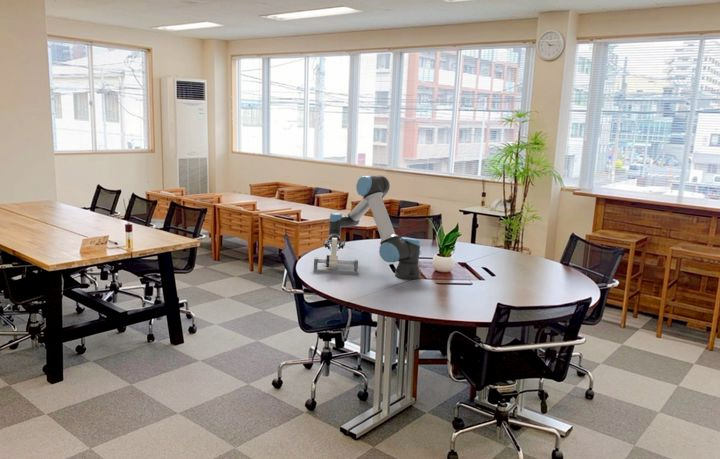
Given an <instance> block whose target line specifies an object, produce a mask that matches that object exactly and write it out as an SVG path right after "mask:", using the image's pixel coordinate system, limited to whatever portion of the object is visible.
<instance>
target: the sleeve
mask: <svg viewBox="0 0 720 459" xmlns="http://www.w3.org/2000/svg"><path fill="white" fill-rule="evenodd" d="M337 252H338V251H337V238H332V247H331V251H330V253H331V254H330V255H329V254H328V255H329V268H337V267H338V265H339V264H338V260H339V258H338V257H339V255H337Z"/></svg>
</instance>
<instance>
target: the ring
mask: <svg viewBox="0 0 720 459" xmlns="http://www.w3.org/2000/svg"><path fill="white" fill-rule="evenodd" d="M326 259H327V260H326V263H325V266H326V267H329V254H327V255H326Z"/></svg>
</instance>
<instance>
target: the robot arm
mask: <svg viewBox="0 0 720 459" xmlns="http://www.w3.org/2000/svg"><path fill="white" fill-rule="evenodd" d="M355 188H356V192H357V194H358V195H360V196H361V197H363V198H362V199H361V200H360V201H359V202H358V203H357V205H355V206H354V208H353V209H352V210H351V211H350V212H349V213H348V214H346V215H345V214H344V215H342V213H340V212H332V213H330V214H329V226H328V229H329V230H328V239H327V240H325V239H324V240H323V245H324V248H325V249H327V250H329V252H331V250H332V238H337V252H339V250H341V249H344V248H345V246H346V240H345V241H343V240H341V238H342V237H341V234H342V233H341V232H342V228H348V227H349V228H350V227H356V226H358V225H359V224H360V219H361V218H362V217H363V216H365V214H366V213H367V212H368V211H369V210H370V212H371V215H372V218H373V220H374V222H375V225H376V228H377V231H378V233H379V236H380V239H381V240H380V246H379V251H378V252H379V256H380V257H381V259H382V260H383V261H384V262H387V263H396V262H398V264H397V266H396V269H395V272H394V276H395V277H397V278H399V279H402V280H403V279H404V280H418V279H420V278H421V270H420V266H419V261H420V260H419V259H420V255H419V253H420V252H421V250H420V249H421V241H420V239H418V238H412V237H407V236H401V237H400V236H399V235H398V234H396V232H395V230H394V229H395V228H394V227H393V224H392V221H391V219H390V216H389V213H388V211H387V208H386V205H385V203H384V200H383V198H384V197H385V196H387V194H388V193H389V191H390V181H389V179H388V178H387V177H385V176H384V175H382V174H381V175H363V176H360V177H359V178H358V179H357V182H356V186H355ZM419 251H420V252H419Z"/></svg>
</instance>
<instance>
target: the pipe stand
mask: <svg viewBox="0 0 720 459" xmlns="http://www.w3.org/2000/svg"><path fill="white" fill-rule="evenodd" d="M326 260H327V258H326V259H325V258H319V257H314V259H313V271H312V272H313V274H315V273H317V274H332V275H333V274H335V275H336V274H337V275H351V274H352V275H353V276H355V275H356V276H358V275H359V274H358V272H359V271H358V269H359V259H354V260H347V259H338V264H337V265H351V266H353V265H354V266H353V267H342V266H341V267H339V266H337V268H329V267H326V265H325V266H324V265H322V266H321V265H319V264H326Z"/></svg>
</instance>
